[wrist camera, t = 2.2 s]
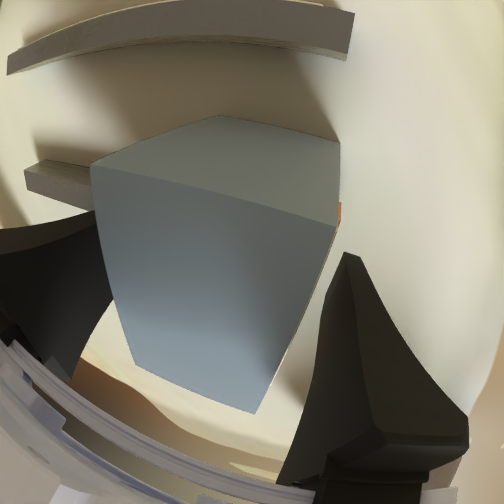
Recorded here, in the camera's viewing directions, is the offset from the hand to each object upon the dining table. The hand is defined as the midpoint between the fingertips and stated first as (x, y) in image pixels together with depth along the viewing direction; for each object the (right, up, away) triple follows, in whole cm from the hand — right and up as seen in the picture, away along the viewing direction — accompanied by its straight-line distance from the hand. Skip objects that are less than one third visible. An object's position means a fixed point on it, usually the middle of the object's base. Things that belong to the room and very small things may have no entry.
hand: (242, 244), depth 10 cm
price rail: (-6, +7, +1) cm, 9 cm away
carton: (+1, +1, +2) cm, 3 cm away
